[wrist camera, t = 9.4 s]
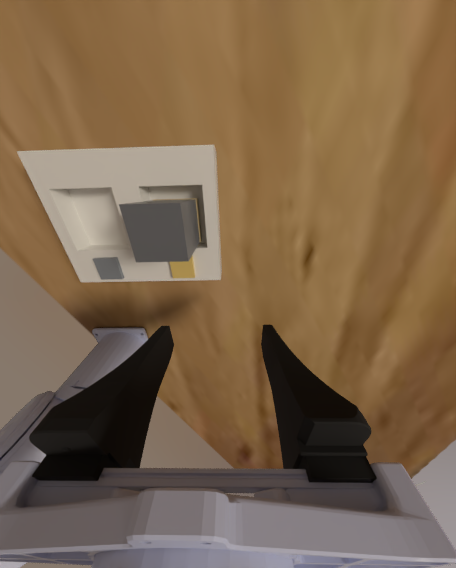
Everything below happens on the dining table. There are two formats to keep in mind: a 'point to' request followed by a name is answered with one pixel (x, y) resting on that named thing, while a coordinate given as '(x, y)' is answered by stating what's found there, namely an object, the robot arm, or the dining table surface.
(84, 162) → the sorting tray
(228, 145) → the dining table surface
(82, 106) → the dining table surface
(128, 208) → the plug
